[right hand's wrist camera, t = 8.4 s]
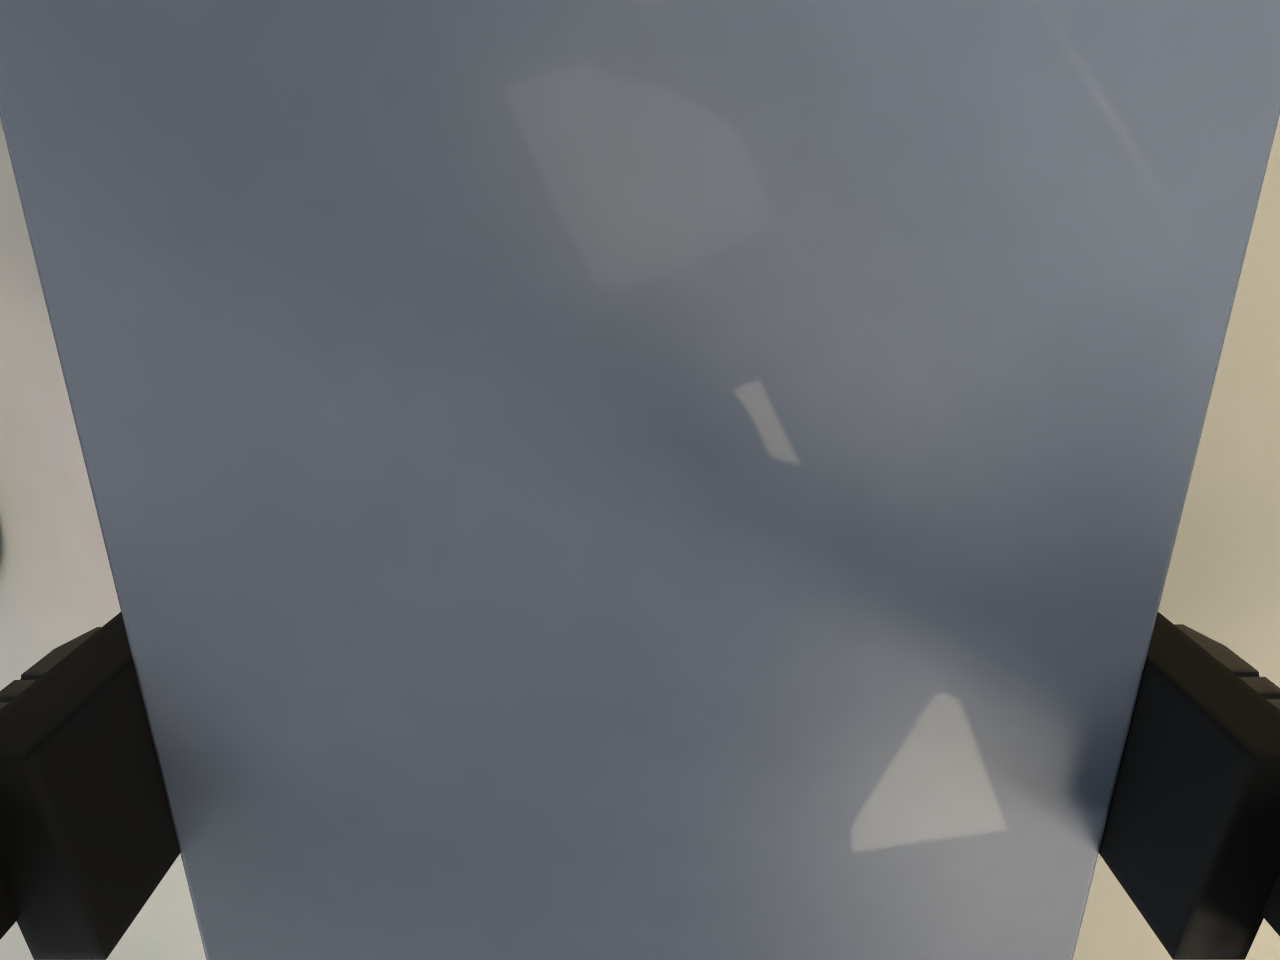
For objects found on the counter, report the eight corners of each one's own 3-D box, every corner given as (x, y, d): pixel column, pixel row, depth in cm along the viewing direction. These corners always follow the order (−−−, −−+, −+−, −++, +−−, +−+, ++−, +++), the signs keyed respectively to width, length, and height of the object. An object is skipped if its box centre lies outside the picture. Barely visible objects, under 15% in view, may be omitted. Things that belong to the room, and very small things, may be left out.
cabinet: (370, -113, 15) (-274, -980, 4) (909, -114, 15) (1553, -978, 4) (438, 598, 20) (211, 990, 9) (842, 599, 20) (1067, 991, 9)
